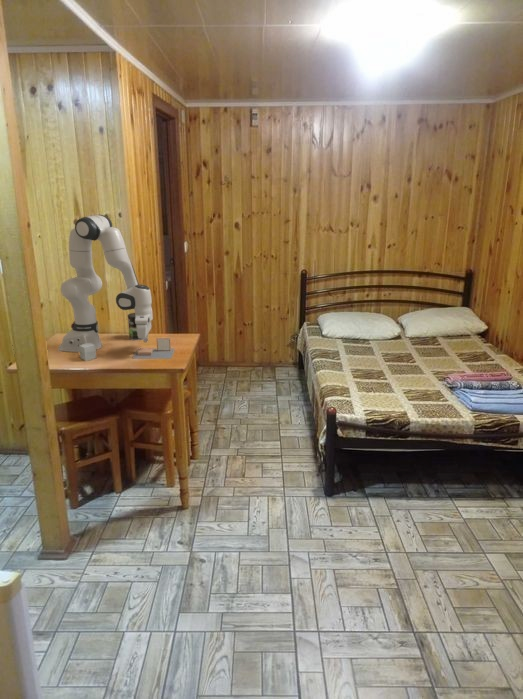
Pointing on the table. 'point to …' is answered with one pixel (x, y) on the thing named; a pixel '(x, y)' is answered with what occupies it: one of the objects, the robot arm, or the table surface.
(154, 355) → the mat
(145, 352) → the tile
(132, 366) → the table surface
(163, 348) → the tile
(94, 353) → the skincare box
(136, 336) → the coffee can
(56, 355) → the table surface
